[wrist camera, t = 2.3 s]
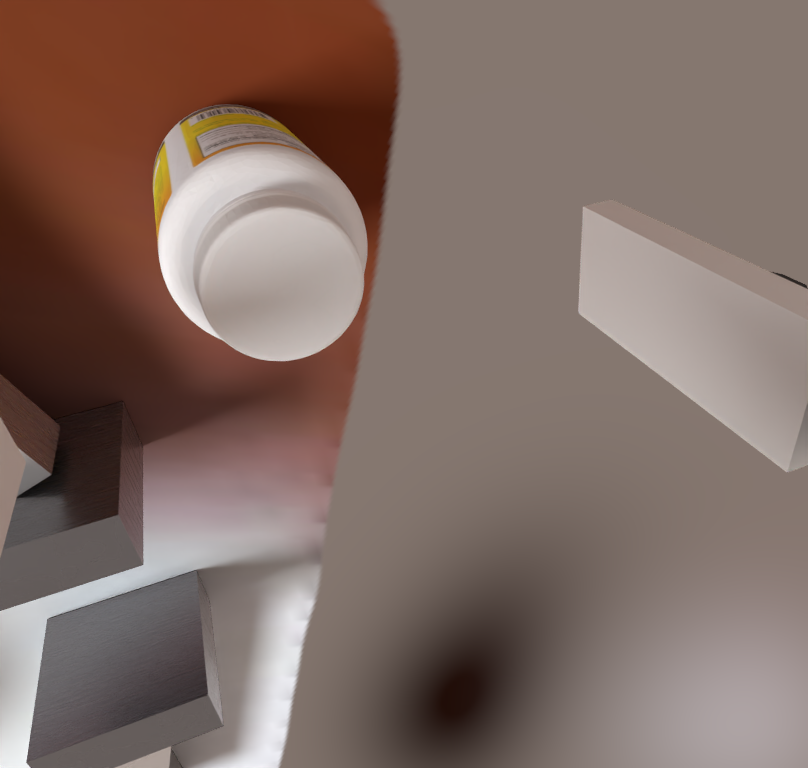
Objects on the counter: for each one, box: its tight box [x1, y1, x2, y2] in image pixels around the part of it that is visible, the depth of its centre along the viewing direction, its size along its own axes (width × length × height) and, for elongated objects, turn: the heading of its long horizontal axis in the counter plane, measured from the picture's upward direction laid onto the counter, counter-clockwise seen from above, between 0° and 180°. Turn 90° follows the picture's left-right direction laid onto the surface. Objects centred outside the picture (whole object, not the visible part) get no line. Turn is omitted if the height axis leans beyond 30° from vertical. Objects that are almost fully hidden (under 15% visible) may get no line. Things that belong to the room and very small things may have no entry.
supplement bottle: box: [153, 104, 367, 361], centre depth 19 cm, size 6×6×10 cm
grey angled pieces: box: [0, 374, 224, 768], centre depth 26 cm, size 10×40×7 cm, turn 6°
